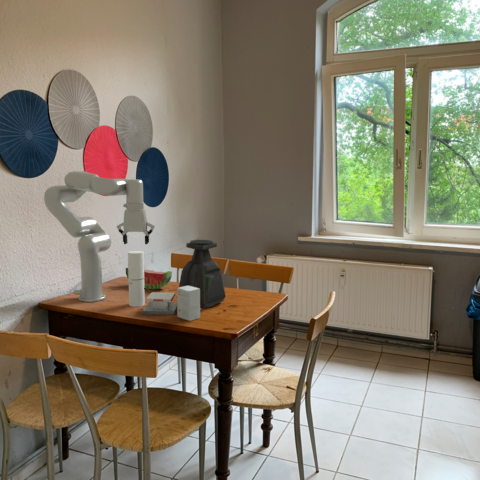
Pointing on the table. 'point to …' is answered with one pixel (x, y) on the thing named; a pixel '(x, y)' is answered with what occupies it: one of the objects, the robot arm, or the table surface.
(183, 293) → the small box
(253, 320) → the table surface
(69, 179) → the robot arm
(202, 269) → the bottle
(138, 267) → the cylindrical container
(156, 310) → the stand
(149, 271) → the fruit slice
